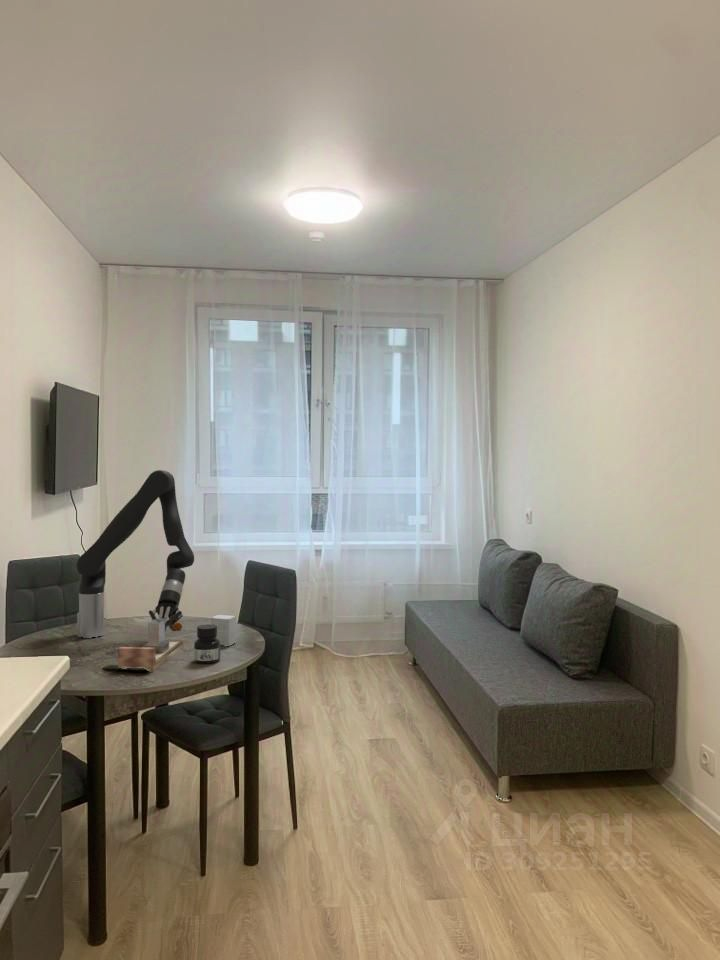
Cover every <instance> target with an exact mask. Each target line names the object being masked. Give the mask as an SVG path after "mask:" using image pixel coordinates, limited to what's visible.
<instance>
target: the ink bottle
mask: <svg viewBox="0 0 720 960" xmlns="http://www.w3.org/2000/svg"><path fill="white" fill-rule="evenodd" d="M196 637H197V639H196V640H195V641H194V643H193V647H194V648H193V652H194V653H193V661H194V662H195V663H197V664H201V665H202V664H203V665H207V664H215V663H217V662H219V661H220V660H221V646H220V641H219V640H218V639H217V638H216V637H217V626H216V625H212V624H211V623H208V624H207V623H206V624H201V625H198V626H197V628H196Z"/></svg>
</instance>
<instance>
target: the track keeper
mask: <svg viewBox="0 0 720 960" xmlns="http://www.w3.org/2000/svg"><path fill="white" fill-rule="evenodd" d="M165 636H166V631H165V620H159V618H158V619H157V618H156V619H154V620H152V619H151V621H149V622H148V623H147V642H146V643H145V644H144V645H143V646H144V647H151V648H156V653H164V652H165V651H166V650H167V649H169V642H170V641H166V637H165Z"/></svg>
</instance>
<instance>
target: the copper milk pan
mask: <svg viewBox="0 0 720 960" xmlns="http://www.w3.org/2000/svg"><path fill="white" fill-rule="evenodd" d="M168 642H169V649H167V650H166V651H165V652H164V653H156V648H151V647H144V645H143V646H140V647H139V646H119V647H118V648H117V669H118V668H122V669H127V668H144V669H146V670H147V671H149V672H150V673H151V672H152V673H153V672H155V671H156V670H157V669H159V668H160V667H161V666H162V665H164V664H165V663H166V662H168V660H169V659H171V658H172V657H173V656H174V655H176V654H177V653H178V652H179V651H181V650H182V648H184V647H185V642H184V640H180V641H168Z"/></svg>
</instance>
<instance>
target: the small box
mask: <svg viewBox="0 0 720 960" xmlns="http://www.w3.org/2000/svg"><path fill="white" fill-rule="evenodd" d="M210 624H212V625H216V626H217V637H216V638H217V639H218V640H219V641H220V645H227V646H230V645H232V644H234V643H235V644H237V616H235V615H227V614H224V615H223V614H217V615H214V616H212V617H210ZM235 644H234V645H235ZM227 646H226V647H227ZM232 646H233V645H232ZM230 647H231V646H230Z"/></svg>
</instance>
